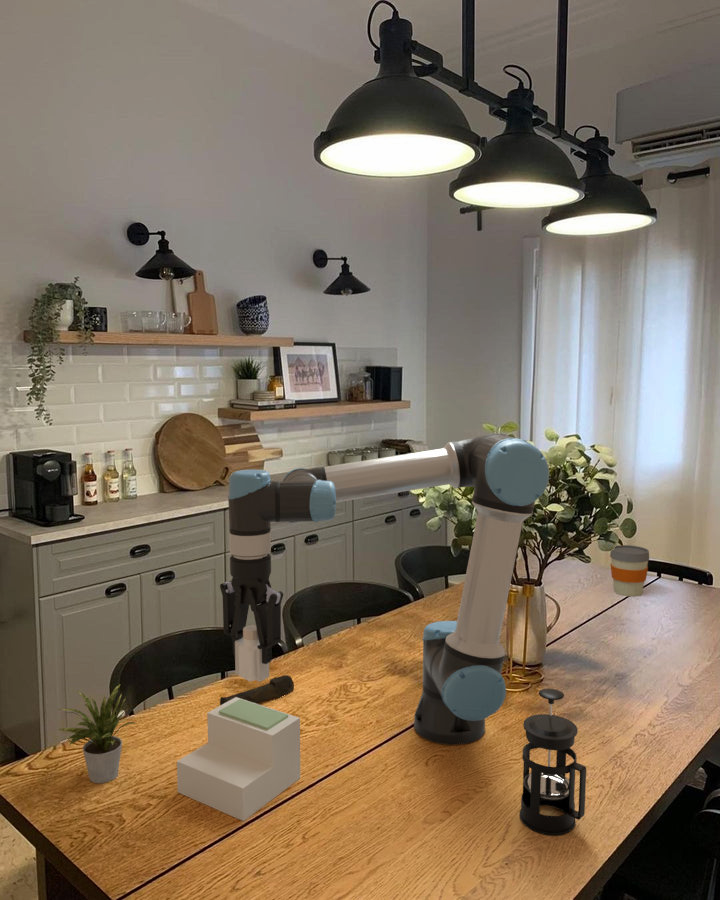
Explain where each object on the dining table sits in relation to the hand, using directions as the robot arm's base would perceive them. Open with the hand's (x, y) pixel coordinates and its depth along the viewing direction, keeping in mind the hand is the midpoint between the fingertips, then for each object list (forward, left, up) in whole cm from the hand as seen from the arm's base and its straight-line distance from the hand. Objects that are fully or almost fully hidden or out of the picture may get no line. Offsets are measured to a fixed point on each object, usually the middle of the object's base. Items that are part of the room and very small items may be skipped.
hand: (252, 675), depth 141 cm
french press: (-52, -17, -20) cm, 58 cm away
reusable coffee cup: (-32, -156, -20) cm, 161 cm away
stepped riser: (0, +4, -20) cm, 20 cm away
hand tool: (+20, -24, -20) cm, 37 cm away
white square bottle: (0, 0, 0) cm, 0 cm away
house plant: (+25, +15, -20) cm, 35 cm away
